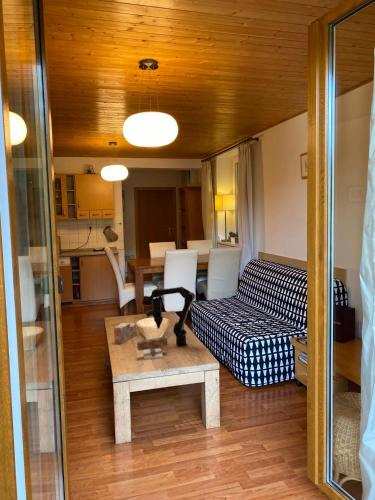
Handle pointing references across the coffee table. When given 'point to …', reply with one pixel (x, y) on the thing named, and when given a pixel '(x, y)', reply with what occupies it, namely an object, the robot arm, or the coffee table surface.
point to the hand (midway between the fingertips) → (157, 326)
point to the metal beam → (151, 343)
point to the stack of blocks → (124, 332)
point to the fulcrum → (152, 353)
